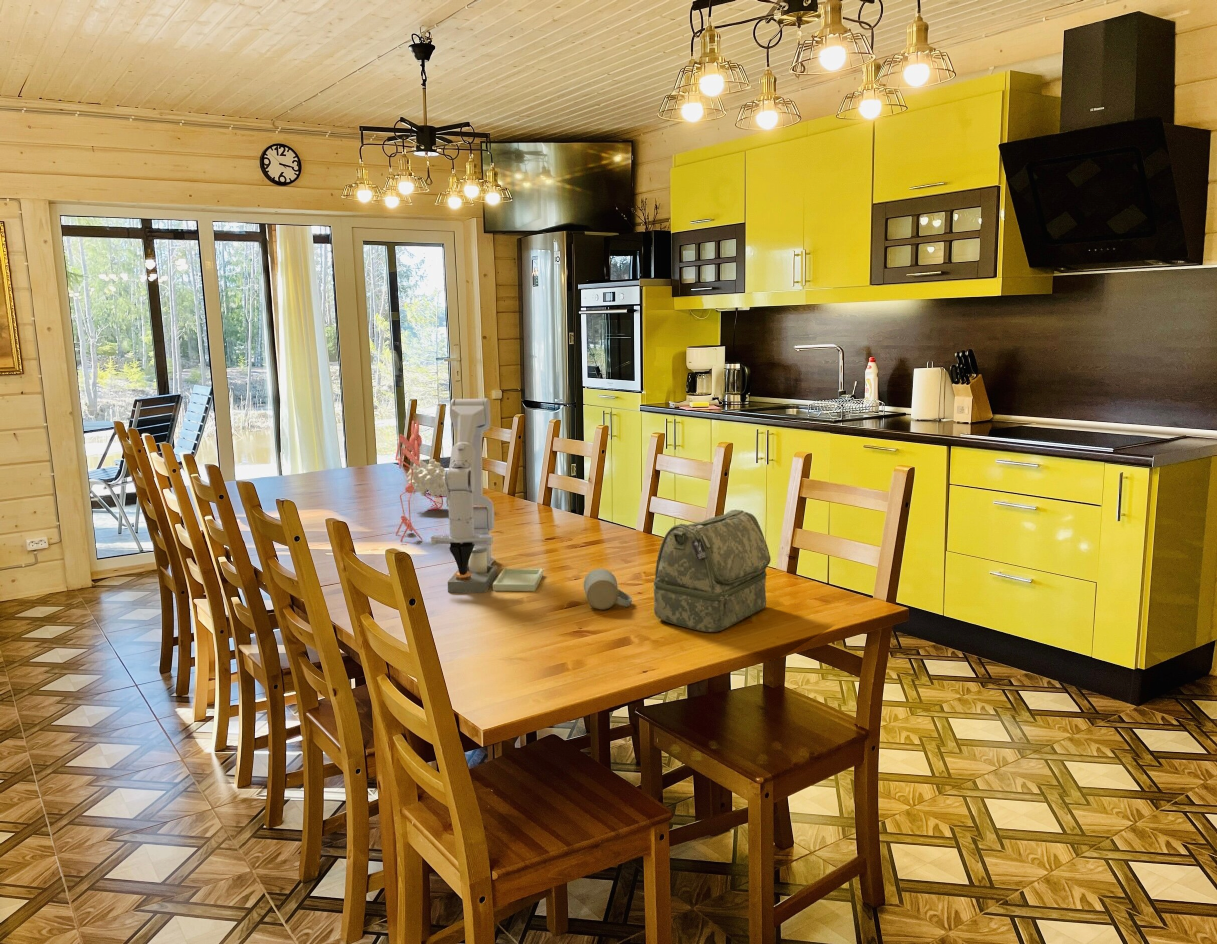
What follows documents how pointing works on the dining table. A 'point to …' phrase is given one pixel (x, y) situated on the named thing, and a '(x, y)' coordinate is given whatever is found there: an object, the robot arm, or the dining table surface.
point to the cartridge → (478, 560)
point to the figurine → (414, 457)
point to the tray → (518, 580)
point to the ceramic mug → (604, 590)
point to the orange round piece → (463, 576)
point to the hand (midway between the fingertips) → (463, 573)
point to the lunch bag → (711, 572)
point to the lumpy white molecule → (429, 480)
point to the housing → (473, 581)
